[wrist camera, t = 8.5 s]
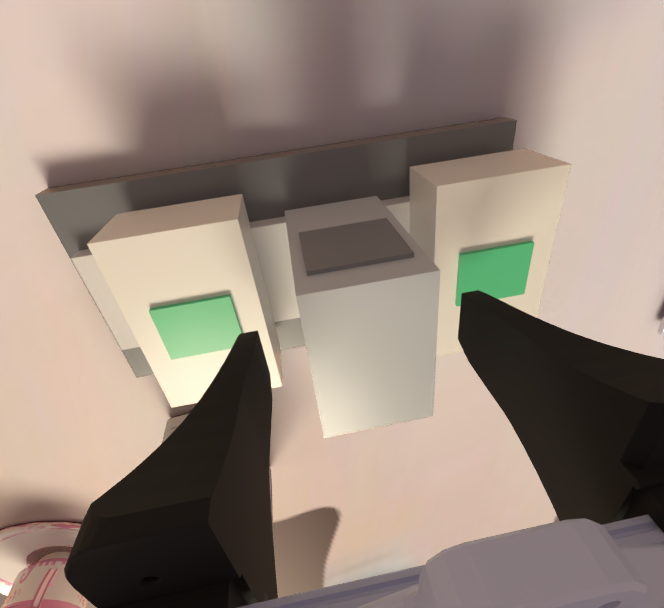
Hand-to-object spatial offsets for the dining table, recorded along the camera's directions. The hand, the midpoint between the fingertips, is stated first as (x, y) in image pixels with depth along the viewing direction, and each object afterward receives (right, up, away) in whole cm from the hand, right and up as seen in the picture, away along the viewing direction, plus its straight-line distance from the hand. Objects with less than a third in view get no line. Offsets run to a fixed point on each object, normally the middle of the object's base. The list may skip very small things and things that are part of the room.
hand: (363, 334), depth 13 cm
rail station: (-3, +4, +6) cm, 7 cm away
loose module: (-1, +3, +4) cm, 5 cm away
